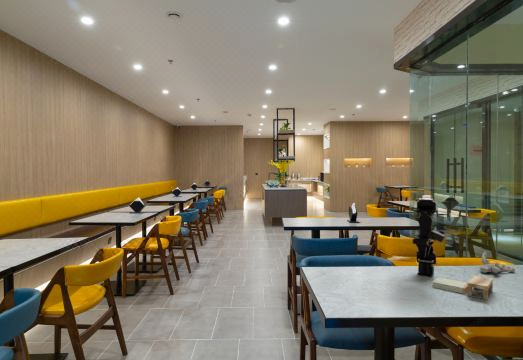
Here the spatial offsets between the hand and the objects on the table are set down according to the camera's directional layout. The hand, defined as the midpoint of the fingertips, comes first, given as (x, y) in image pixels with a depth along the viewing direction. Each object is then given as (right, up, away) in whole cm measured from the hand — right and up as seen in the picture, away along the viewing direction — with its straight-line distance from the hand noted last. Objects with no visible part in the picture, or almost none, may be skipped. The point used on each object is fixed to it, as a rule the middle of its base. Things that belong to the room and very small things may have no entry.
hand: (425, 257), depth 157 cm
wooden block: (+16, -12, -15) cm, 26 cm away
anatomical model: (+48, -13, +22) cm, 54 cm away
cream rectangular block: (+8, -12, -8) cm, 17 cm away
